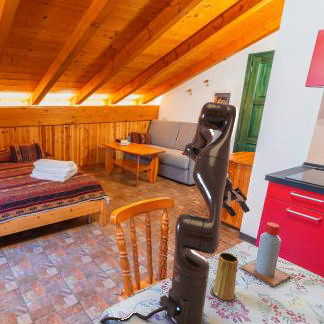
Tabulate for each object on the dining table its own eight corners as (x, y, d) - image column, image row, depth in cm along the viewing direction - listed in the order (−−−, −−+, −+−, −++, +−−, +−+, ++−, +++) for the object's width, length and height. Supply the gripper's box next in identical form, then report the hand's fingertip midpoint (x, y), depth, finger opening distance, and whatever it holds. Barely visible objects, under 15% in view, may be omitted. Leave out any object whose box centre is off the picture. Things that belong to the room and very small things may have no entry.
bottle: (268, 278, 90) (277, 231, 86) (251, 268, 95) (259, 224, 91) (277, 273, 93) (287, 227, 88) (260, 264, 98) (268, 220, 93)
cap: (274, 236, 88) (276, 228, 87) (263, 231, 91) (264, 223, 90) (280, 233, 89) (281, 225, 88) (269, 229, 92) (270, 221, 92)
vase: (213, 297, 83) (218, 259, 79) (212, 285, 88) (217, 249, 85) (234, 303, 80) (240, 265, 77) (233, 290, 85) (238, 254, 82)
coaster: (273, 286, 87) (273, 285, 87) (241, 268, 96) (241, 267, 96) (290, 277, 91) (290, 276, 91) (258, 260, 101) (258, 259, 101)
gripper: (213, 177, 101) (237, 214, 94) (235, 172, 107) (259, 206, 99) (200, 185, 107) (222, 221, 100) (222, 180, 113) (244, 213, 105)
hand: (241, 213), depth 99 cm, fingers open, 8 cm apart
